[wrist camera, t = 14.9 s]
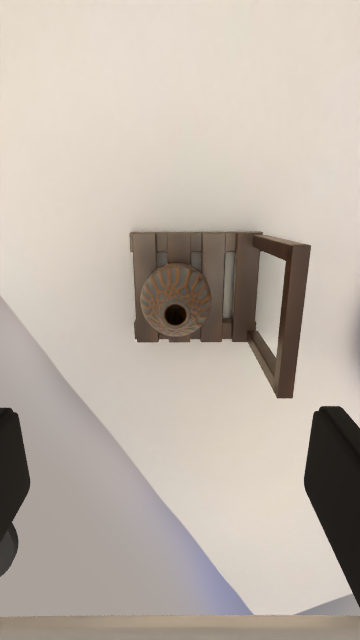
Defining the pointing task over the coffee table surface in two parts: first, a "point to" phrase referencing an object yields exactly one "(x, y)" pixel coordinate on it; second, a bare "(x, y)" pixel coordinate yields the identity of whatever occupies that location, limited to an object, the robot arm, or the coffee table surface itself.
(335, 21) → the coffee table surface
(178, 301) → the vase
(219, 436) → the coffee table surface
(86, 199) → the coffee table surface
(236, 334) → the rack
